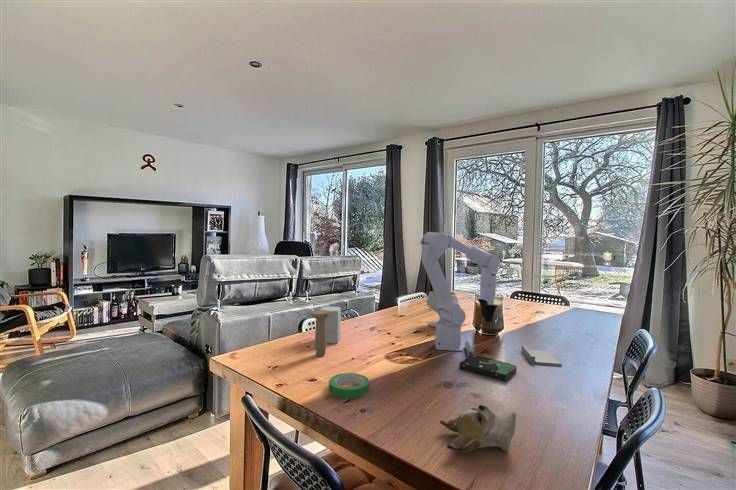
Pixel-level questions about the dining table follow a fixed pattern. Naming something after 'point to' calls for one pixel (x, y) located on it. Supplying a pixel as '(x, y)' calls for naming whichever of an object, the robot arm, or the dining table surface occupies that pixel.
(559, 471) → the dining table surface
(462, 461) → the dining table surface
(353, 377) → the tape roll
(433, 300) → the chalice
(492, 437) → the ceramic sculpture
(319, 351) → the handle
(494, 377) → the disk drive
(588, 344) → the dining table surface
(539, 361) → the grey flat panel
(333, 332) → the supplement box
